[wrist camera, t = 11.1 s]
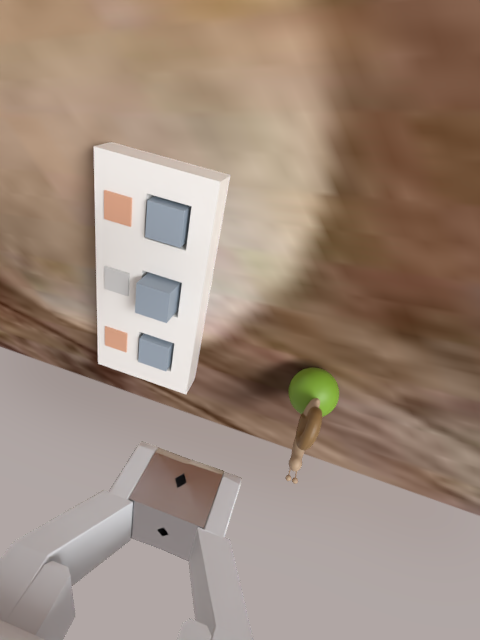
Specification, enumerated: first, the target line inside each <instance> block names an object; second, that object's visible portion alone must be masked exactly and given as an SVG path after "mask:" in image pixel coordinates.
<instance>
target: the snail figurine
mask: <svg viewBox="0 0 480 640" xmlns="http://www.w3.org/2000/svg"><path fill="white" fill-rule="evenodd" d="M289 398H290V401H291V403H292V405H293V407H294V408H295V409H296V410H297V411H298V412H299V413H301V416H300V419H299V423H298V427H297V431H296V437H295V440H294V443H293V448H292V455H291V458H290V460H289V467H290V470H293V471H296V474H297V471H298V470H299V469H300V468H301V466H302V457H303V454H304V451H305V450H308V449H309V448H310V447H311V446H312V445H313V443H314V442H315V440H316V438H317V436H318V433H319V431H320V427H321V423H322V417H323V416H325V415H327V414H329V413H330V412H331V411H332V410H333V409H334V408H335V406H336V404H337V402H338V399H339V388H338V385H337V382H336V381H335V379H334V378H333V376H332V375H331V374H329V373H328V372H327V371H325V370H323V369H320V368H306V369H303V370H301V371H300V372H298V373H297V374H296V375H295V376H294V377H293V379H292V380H291V383H290V386H289ZM289 473H290V471H289ZM286 480H287V481H290V480H291V476H290V475H287V476H286ZM292 482H293V483H295V484H296V483H297V482H298V480H297V478H296V475H295V478H293V479H292Z"/></svg>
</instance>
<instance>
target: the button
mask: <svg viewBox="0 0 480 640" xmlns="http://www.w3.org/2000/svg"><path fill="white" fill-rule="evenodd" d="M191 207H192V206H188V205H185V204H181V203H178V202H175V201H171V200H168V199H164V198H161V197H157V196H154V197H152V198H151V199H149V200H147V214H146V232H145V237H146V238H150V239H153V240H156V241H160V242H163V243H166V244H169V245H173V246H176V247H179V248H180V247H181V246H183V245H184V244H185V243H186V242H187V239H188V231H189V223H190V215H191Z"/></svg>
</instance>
